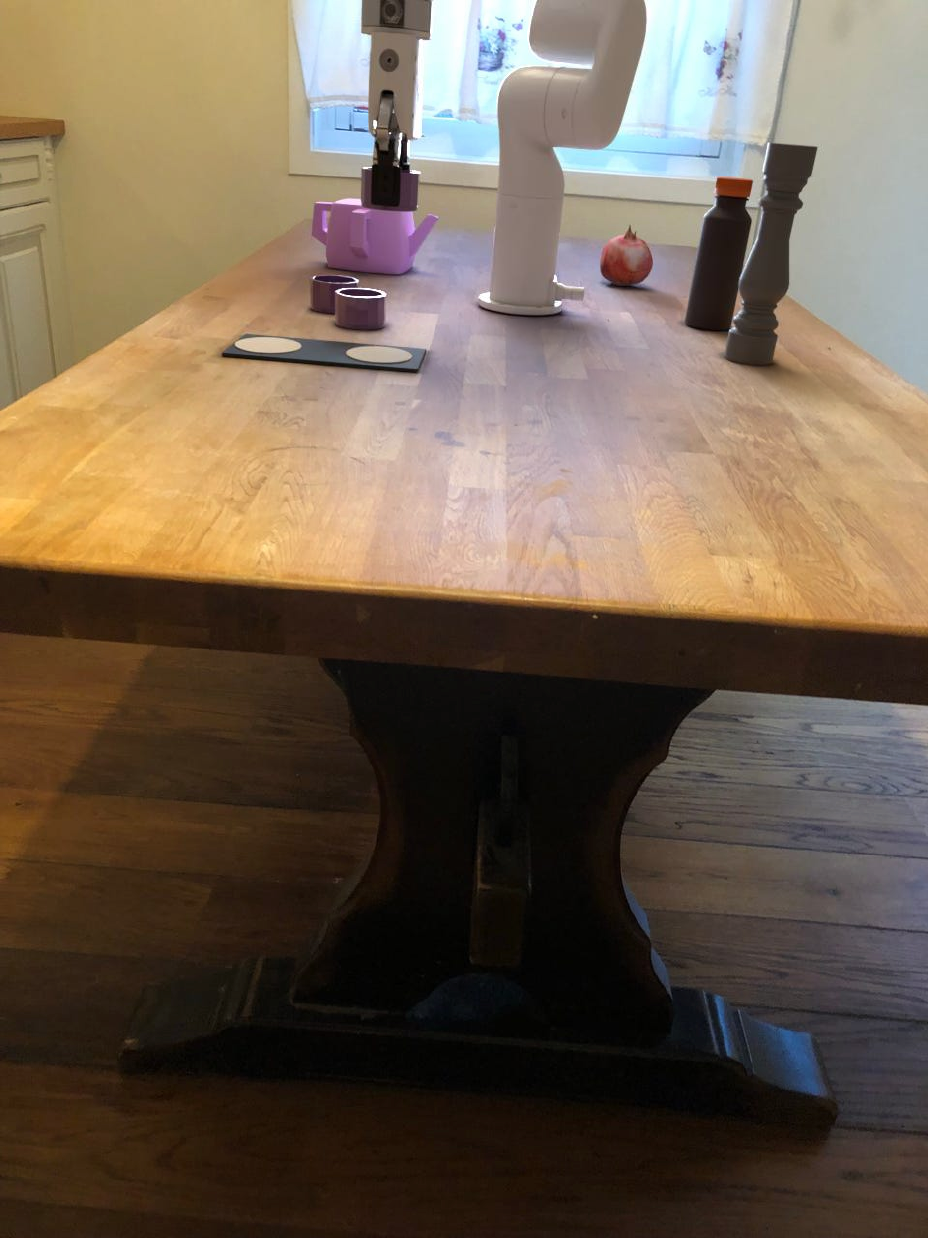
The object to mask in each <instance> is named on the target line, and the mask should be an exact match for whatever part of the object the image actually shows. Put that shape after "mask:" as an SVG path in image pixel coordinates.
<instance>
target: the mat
mask: <svg viewBox="0 0 928 1238" xmlns="http://www.w3.org/2000/svg"><path fill="white" fill-rule="evenodd" d="M426 353H427V348H420V347H409V346H397V345H396V346H395V345H384V344H375V343H374V344H372V343H363V342H349V341H336V340H327V339H326V340H324V339H313V338H302V337H292V336H291V337H289V336H278V335H277V336H276V335H266V334H254V333H253V334H252V333H245V334H244V335H242V336H241V337H240V338H238V339H237V340H236V341H235V342H234V343H232V344H231V345H230V346H229V347H228V348H226V349H225V350H224V351H222V352H221V356H222V357H228V358H241V359H251V360H261V361H262V360H263V361H274V362H285V363H286V362H287V363H297V364H298V363H300V364H308V365H309V364H310V365H321V366H322V365H323V366H332V367H333V366H335V367H346V368H358V369H369V370H382V371H392V372H393V371H394V372H405V373H415V374H416V373H417V374H418V373H419V370H420V368H421V365H422V363H423V360H424V358H425V355H426Z"/></svg>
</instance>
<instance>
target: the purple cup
mask: <svg viewBox="0 0 928 1238" xmlns="http://www.w3.org/2000/svg"><path fill="white" fill-rule="evenodd" d="M309 281H310V282H309V287H310V288H309V294H310V295H309V296H310V298H309V300H310V303H309V304H310V309H311V310H312V311H316V312H319V313H324V314H334V315H335V291H337V290H339V289H344V288H359V286H360V285H359V279H357V277H352V276H348V275H339V274H318V275H312V276H311V277H310V278H309Z"/></svg>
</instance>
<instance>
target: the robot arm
mask: <svg viewBox="0 0 928 1238" xmlns="http://www.w3.org/2000/svg"><path fill="white" fill-rule="evenodd" d="M646 6H647V5H646V1H645V0H534V2H533V6H532V9H531V14H530V19H529V23H528V28H527V42H528V47H529V50H530V51H531V53H532V54H533V55H534V56H535V57H537V58H538V59H539V60H542V61H544V62H547V63H553V64H559V65H570V66H571V65H572V66H573V65H575V66H589V67H590V66H591V68H580V67H566V66H556V65H526V66H521V67H518V68H516V69H513V70H511V71H510V72H509V73H508V74H507V75H506V76H505V77H504V78H503V80H502V81H501V83H500V85H499V87H498V91H497V96H496V119H497V127H498V128H497V129H498V145H499V146H498V147H499V149H498V150H499V153H498V154H499V157H498V158H499V160H498V178H497V192H496V203H495V204H496V205H495V213H494V214H495V216H494V228H493V241H492V255H491V266H490V280H489V290H488V291H489V292H485V293H482V294H480V295H479V296H478V302H477V303H478V305H479V306H480V307H481V308H484V309H486V310H490V311H492V312H493V311H494V312H498V313H503V314H510V315H518V316H549V315H555V314H559V313H561V311H562V310H563V309H562V307H563V303H562V300H569V301H570V300H571V301H574V302H575V301H576V302H584V298H585V287H581V286H576V285H564V283H560V282H559V283H558V279H557V275H556V269H557V259H558V253H559V251H558V250H559V241H560V233H561V222H562V214H563V204H564V197H565V188H566V187H565V186H566V184H565V183H566V182H565V175H564V172H563V171H564V170H563V169H562V165H561V163H560V160H559V158H558V157H557V153H556V151H555V150H554V148H564V149H565V148H566V149H573V150H574V149H575V150H587V151H599V150H602V149H606V148H607V147H608V146H610V145H611V144H612V143H613V141H614V140H615V138H616V137H617V135H618V133H619V131H620V129H621V126H622V122H623V119H624V116H625V112H626V109H627V105H628V102H629V98H630V95H631V91H632V88H633V84H634V81H635V78H636V74H637V70H638V66H639V64H640V59H641V56H642V52H643V48H644V43H645V39H646V35H647V23H648V21H647V20H648V19H647V17H648V16H647V7H646ZM360 17H361V22H360V23H361V24H360V33H361V34H362V35H367V36H370V47H369V48H370V50H369V67H368V68H369V69H368V70H369V71H368V72H369V73H368V99H367V100H368V105H367V106H368V107H367V108H368V109H367V111H368V112H367V113H368V114H367V117H368V119H367V122H368V132H369V134H370V135H371V136H372V137H373V138H374V142H373V143H374V144H373V154H372V165H371V167H372V179H371V203H372V204H373V205H381V206H392V207H397V206H399V205H400V191H401V169H402V170H410V169H411V164H410V142H413V141H418V140H419V139H420V138H421V137H422V129H423V127H422V124H423V123H422V122H423V116H422V114H423V80H424V79H423V75H424V71H423V70H424V57H423V56H424V55H423V54H424V53H423V52H424V51H423V41H431V40H432V33H433V17H434V0H361V16H360ZM410 171H411V170H410Z"/></svg>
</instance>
